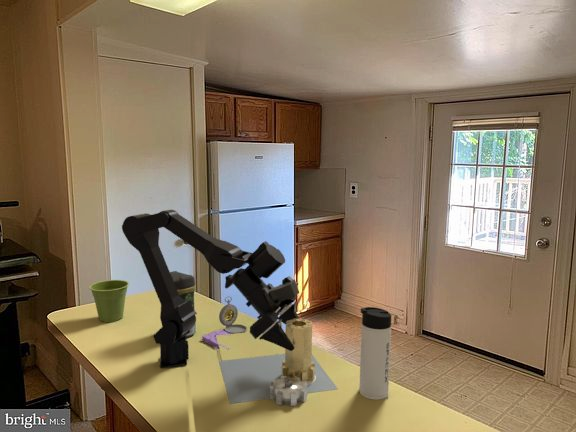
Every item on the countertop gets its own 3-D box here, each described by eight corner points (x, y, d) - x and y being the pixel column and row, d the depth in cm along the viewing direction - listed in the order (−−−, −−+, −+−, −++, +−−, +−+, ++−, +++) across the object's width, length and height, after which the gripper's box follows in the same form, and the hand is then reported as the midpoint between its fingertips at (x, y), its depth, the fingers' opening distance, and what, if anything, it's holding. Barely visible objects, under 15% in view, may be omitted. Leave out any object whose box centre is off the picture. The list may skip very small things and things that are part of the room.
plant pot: (85, 317, 140) (83, 284, 139) (121, 309, 148) (120, 277, 147) (98, 328, 132) (97, 292, 130) (136, 319, 140) (135, 285, 138)
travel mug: (354, 389, 98) (357, 304, 96) (383, 389, 99) (386, 304, 96) (361, 405, 92) (365, 314, 89) (391, 404, 93) (396, 314, 90)
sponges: (221, 335, 129) (221, 329, 129) (248, 348, 121) (248, 341, 120) (201, 341, 124) (201, 335, 124) (228, 355, 116) (228, 349, 115)
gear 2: (274, 408, 88) (274, 393, 88) (265, 388, 96) (265, 374, 95) (312, 403, 90) (312, 387, 90) (300, 383, 98) (301, 369, 98)
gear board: (230, 409, 90) (230, 390, 89) (218, 365, 109) (218, 349, 108) (337, 393, 96) (338, 376, 96) (309, 355, 115) (309, 340, 115)
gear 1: (280, 384, 97) (281, 329, 96) (282, 368, 105) (283, 317, 103) (314, 386, 97) (315, 330, 95) (314, 369, 105) (315, 318, 103)
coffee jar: (158, 333, 128) (156, 272, 126) (180, 326, 135) (179, 267, 132) (178, 342, 122) (177, 278, 120) (200, 334, 129) (199, 273, 126)
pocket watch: (242, 336, 127) (242, 303, 126) (215, 334, 129) (215, 301, 127) (250, 326, 135) (250, 295, 134) (225, 324, 137) (225, 293, 135)
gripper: (264, 279, 90) (314, 336, 89) (290, 260, 108) (331, 308, 106) (229, 310, 94) (276, 367, 92) (260, 287, 111) (300, 334, 110)
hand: (298, 341), depth 100 cm, fingers open, 9 cm apart
